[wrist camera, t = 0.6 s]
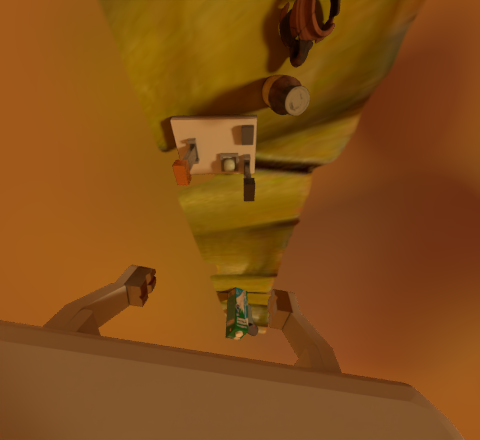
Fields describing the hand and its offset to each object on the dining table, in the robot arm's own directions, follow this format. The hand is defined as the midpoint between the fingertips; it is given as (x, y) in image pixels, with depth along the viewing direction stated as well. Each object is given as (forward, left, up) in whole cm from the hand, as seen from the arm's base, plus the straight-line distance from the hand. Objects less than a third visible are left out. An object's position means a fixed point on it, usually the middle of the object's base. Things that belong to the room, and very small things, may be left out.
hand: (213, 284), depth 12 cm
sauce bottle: (-10, +8, -47) cm, 49 cm away
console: (+7, -2, -47) cm, 47 cm away
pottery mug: (-21, +8, -47) cm, 52 cm away
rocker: (0, +4, -42) cm, 42 cm away
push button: (+9, +2, -43) cm, 44 cm away
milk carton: (+92, +33, -47) cm, 108 cm away
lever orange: (+9, -8, -42) cm, 43 cm away
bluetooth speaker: (+134, +57, -47) cm, 153 cm away
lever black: (+8, +7, -42) cm, 43 cm away
